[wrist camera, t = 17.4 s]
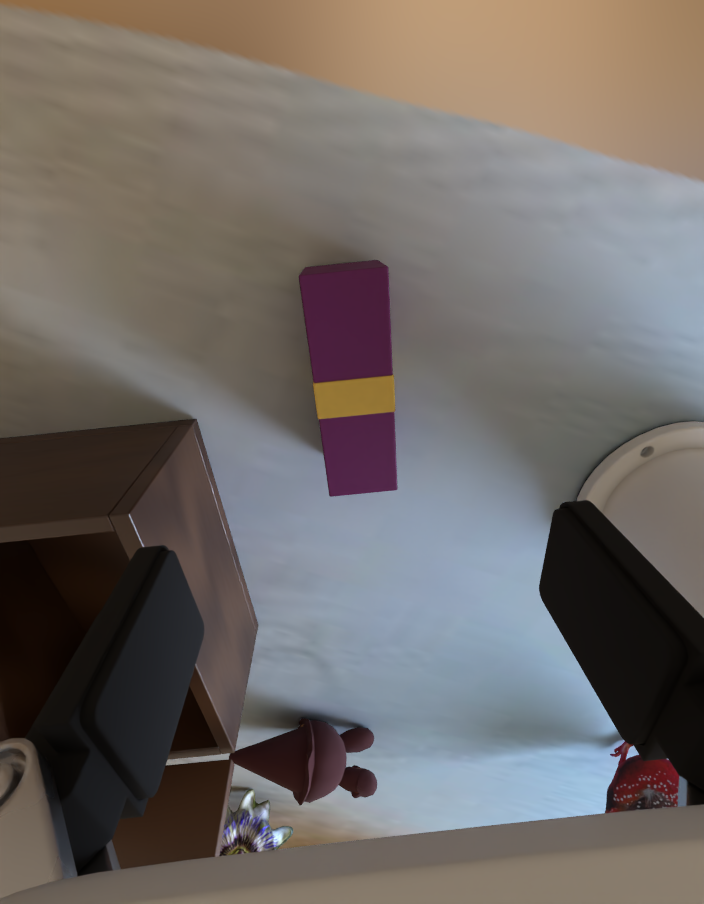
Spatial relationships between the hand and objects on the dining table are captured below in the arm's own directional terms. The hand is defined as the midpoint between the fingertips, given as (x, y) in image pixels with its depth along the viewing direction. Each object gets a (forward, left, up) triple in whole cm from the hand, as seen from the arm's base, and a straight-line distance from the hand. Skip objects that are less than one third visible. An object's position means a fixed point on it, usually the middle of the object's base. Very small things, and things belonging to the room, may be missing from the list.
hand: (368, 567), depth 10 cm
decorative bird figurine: (-27, +50, -17) cm, 59 cm away
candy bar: (0, 0, -17) cm, 17 cm away
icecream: (+8, +38, -17) cm, 42 cm away
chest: (+17, +12, -17) cm, 27 cm away
